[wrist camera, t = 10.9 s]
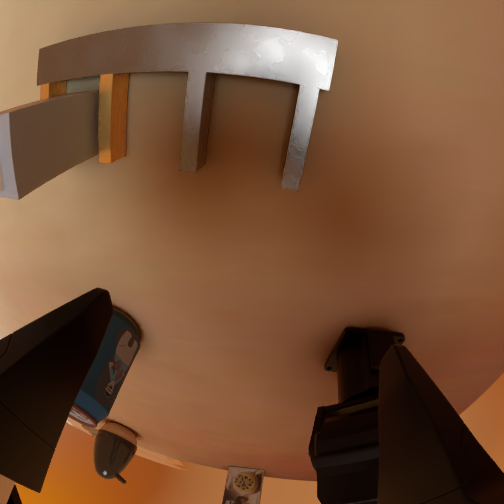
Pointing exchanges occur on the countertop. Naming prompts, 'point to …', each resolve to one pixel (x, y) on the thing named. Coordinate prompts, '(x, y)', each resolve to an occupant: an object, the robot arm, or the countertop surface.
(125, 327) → the soda can
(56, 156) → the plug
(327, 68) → the grey comb shape
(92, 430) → the jawbone
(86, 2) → the countertop surface
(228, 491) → the coffee box
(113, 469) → the pump dispenser
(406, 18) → the countertop surface
